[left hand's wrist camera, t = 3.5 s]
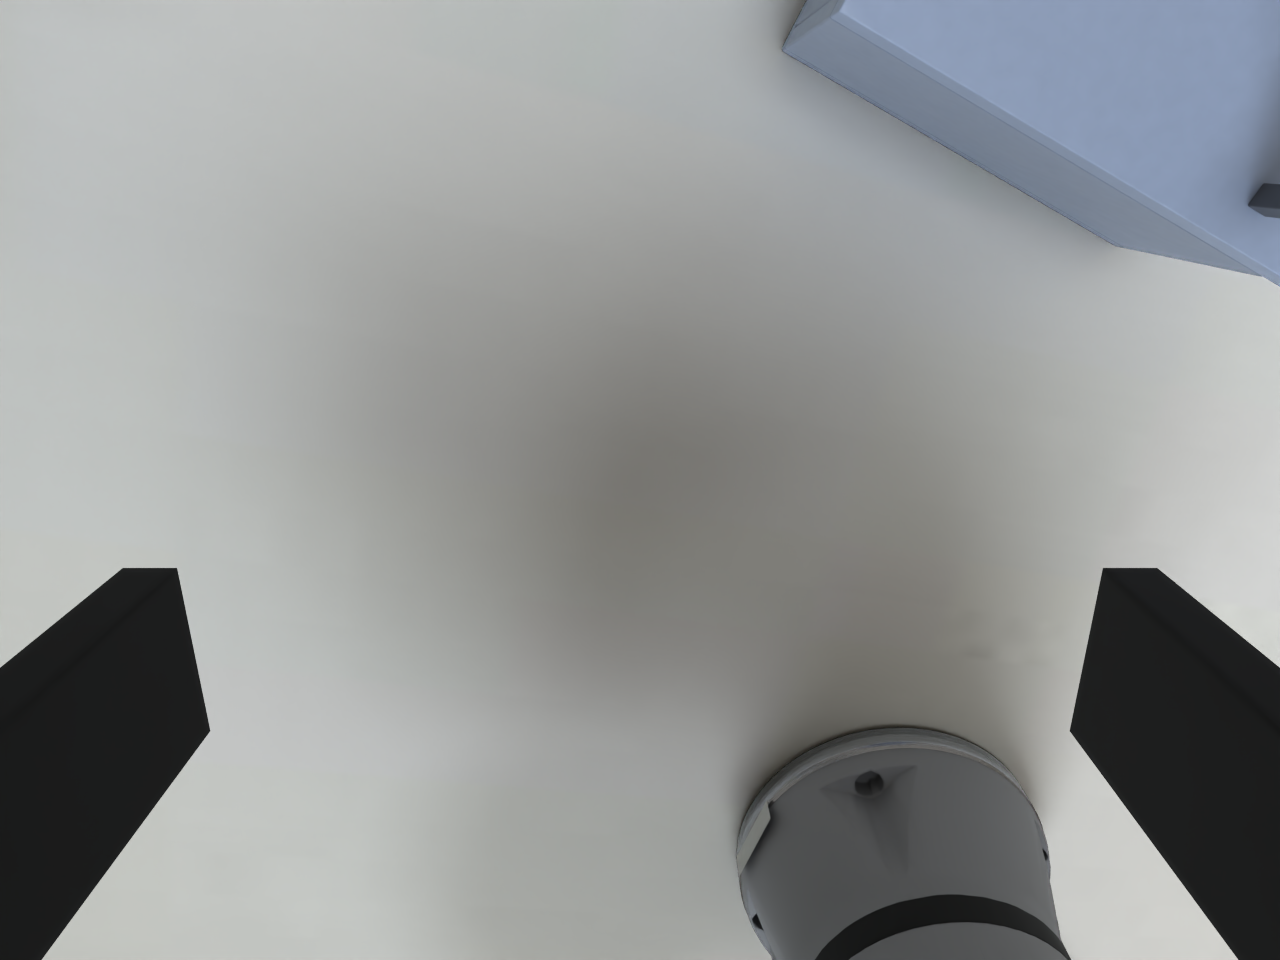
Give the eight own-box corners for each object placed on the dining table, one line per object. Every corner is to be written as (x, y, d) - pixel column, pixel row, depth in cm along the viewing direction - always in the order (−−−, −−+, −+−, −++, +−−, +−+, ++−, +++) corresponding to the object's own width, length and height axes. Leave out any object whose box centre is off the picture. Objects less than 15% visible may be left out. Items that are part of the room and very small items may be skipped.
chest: (1271, 20, 32) (1490, -24, 24) (1116, 247, 35) (1264, 278, 27) (916, -215, 30) (1023, -354, 21) (780, 50, 33) (828, 17, 24)
